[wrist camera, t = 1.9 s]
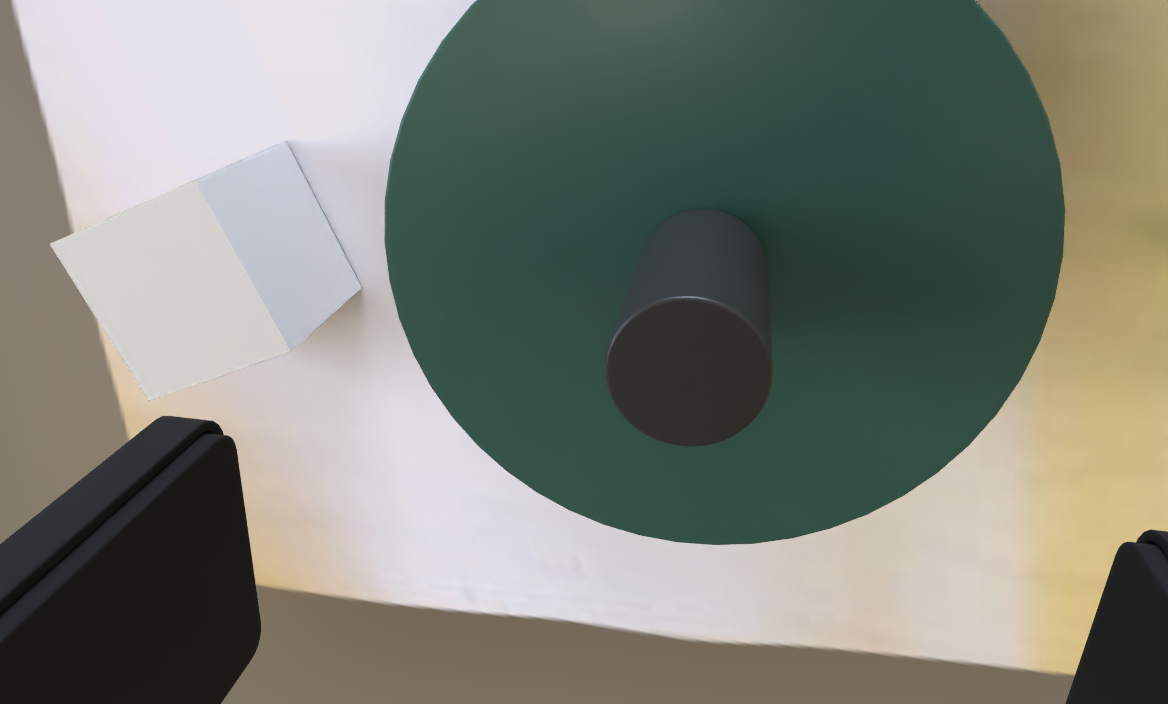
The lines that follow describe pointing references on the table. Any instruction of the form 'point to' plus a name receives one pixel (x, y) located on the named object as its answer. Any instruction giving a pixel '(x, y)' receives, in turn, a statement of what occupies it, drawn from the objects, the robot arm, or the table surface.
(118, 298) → the white cube
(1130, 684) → the robot arm
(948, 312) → the lid
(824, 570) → the table surface
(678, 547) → the table surface
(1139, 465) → the table surface
